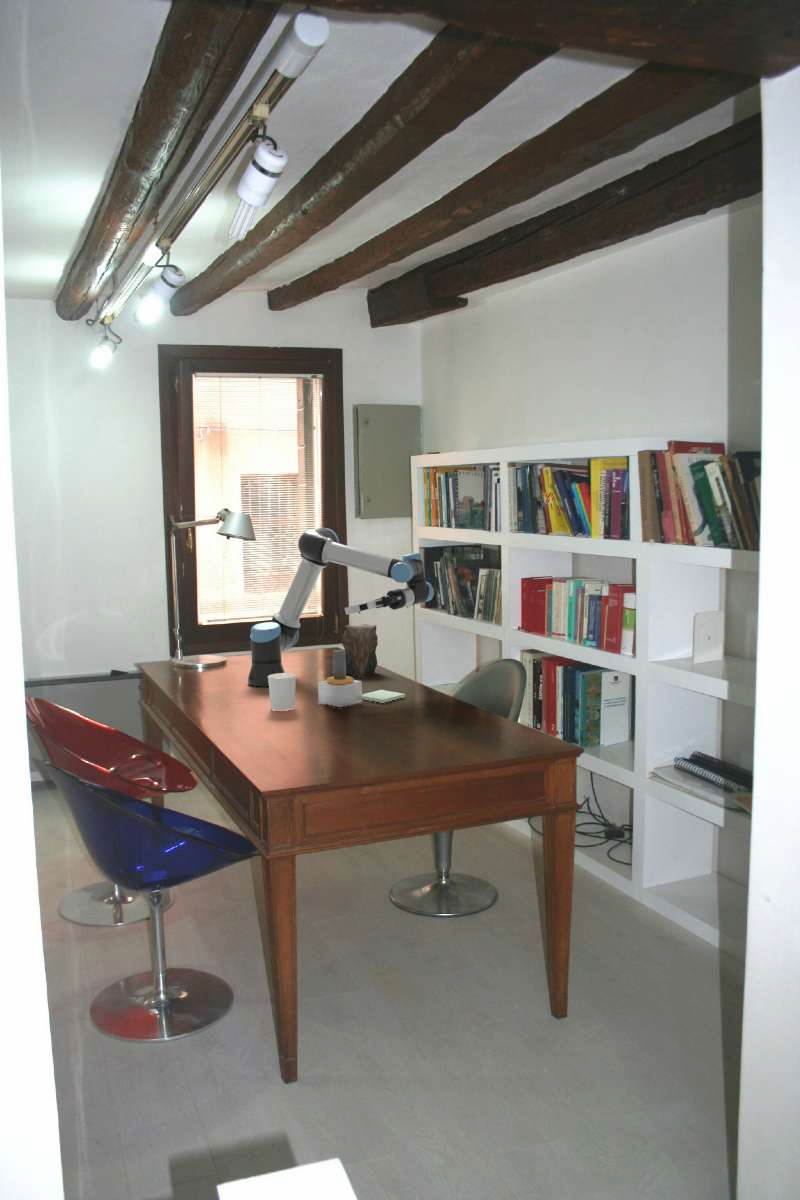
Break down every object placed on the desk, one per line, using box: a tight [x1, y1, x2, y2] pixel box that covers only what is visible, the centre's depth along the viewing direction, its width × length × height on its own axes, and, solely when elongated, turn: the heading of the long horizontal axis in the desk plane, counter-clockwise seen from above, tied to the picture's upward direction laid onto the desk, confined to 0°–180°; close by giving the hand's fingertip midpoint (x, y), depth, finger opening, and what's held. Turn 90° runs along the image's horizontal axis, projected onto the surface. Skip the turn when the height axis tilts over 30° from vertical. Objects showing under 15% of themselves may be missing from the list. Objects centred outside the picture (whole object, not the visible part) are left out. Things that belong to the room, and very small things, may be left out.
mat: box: [362, 689, 406, 704], centre depth 383 cm, size 12×12×2 cm
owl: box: [341, 623, 379, 678], centre depth 429 cm, size 13×13×20 cm
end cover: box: [325, 649, 354, 685], centre depth 375 cm, size 10×10×17 cm
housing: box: [317, 679, 363, 707], centre depth 375 cm, size 11×11×8 cm
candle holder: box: [268, 672, 297, 710], centre depth 368 cm, size 10×10×12 cm
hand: (356, 608), depth 385 cm, fingers open, 13 cm apart
